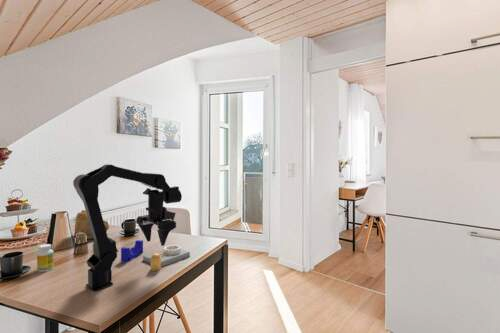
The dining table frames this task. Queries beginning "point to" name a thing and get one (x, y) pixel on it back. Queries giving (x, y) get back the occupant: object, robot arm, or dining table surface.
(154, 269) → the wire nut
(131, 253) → the cable clip
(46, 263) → the supplement bottle
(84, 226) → the rough brown rock
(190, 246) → the dining table surface
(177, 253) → the plate
